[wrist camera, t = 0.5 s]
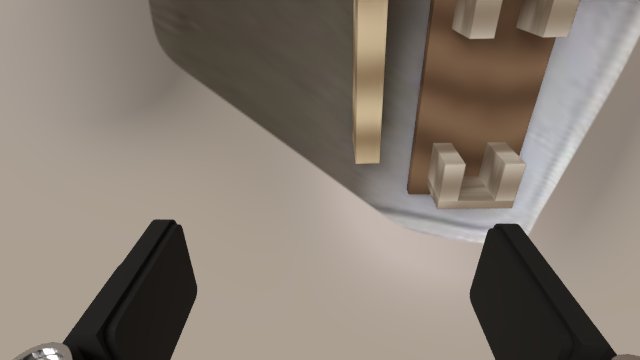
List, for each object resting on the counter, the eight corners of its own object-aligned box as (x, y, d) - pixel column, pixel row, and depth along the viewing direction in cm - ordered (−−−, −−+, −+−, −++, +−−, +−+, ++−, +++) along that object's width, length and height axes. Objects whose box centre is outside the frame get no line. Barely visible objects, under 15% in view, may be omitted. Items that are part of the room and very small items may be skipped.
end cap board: (438, -59, 31) (461, -63, 26) (578, -63, 31) (630, -68, 25) (406, 188, 45) (417, 219, 39) (503, 188, 44) (526, 219, 39)
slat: (353, -43, 32) (358, -43, 27) (380, -44, 32) (390, -45, 27) (352, 138, 41) (355, 163, 36) (373, 137, 41) (379, 163, 36)
